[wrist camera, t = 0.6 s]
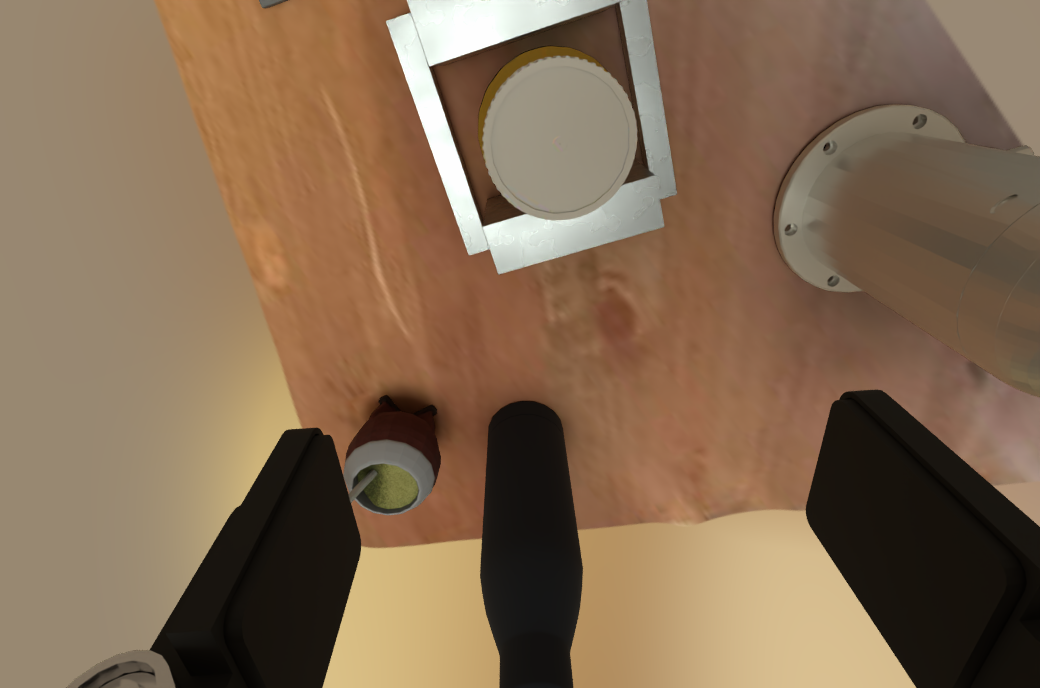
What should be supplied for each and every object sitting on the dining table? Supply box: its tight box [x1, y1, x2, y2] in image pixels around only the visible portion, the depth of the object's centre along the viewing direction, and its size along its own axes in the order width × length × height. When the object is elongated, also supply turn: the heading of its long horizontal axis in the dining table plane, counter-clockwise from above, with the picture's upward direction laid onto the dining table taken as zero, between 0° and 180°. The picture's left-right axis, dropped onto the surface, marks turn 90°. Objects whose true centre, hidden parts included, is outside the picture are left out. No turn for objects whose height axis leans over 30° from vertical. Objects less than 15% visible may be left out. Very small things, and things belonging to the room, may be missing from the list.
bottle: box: [478, 46, 638, 220], centre depth 28 cm, size 7×7×15 cm
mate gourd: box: [343, 395, 441, 515], centre depth 39 cm, size 8×8×15 cm
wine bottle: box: [480, 401, 583, 688], centre depth 33 cm, size 6×6×30 cm
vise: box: [386, 0, 677, 274], centre depth 31 cm, size 14×17×7 cm
